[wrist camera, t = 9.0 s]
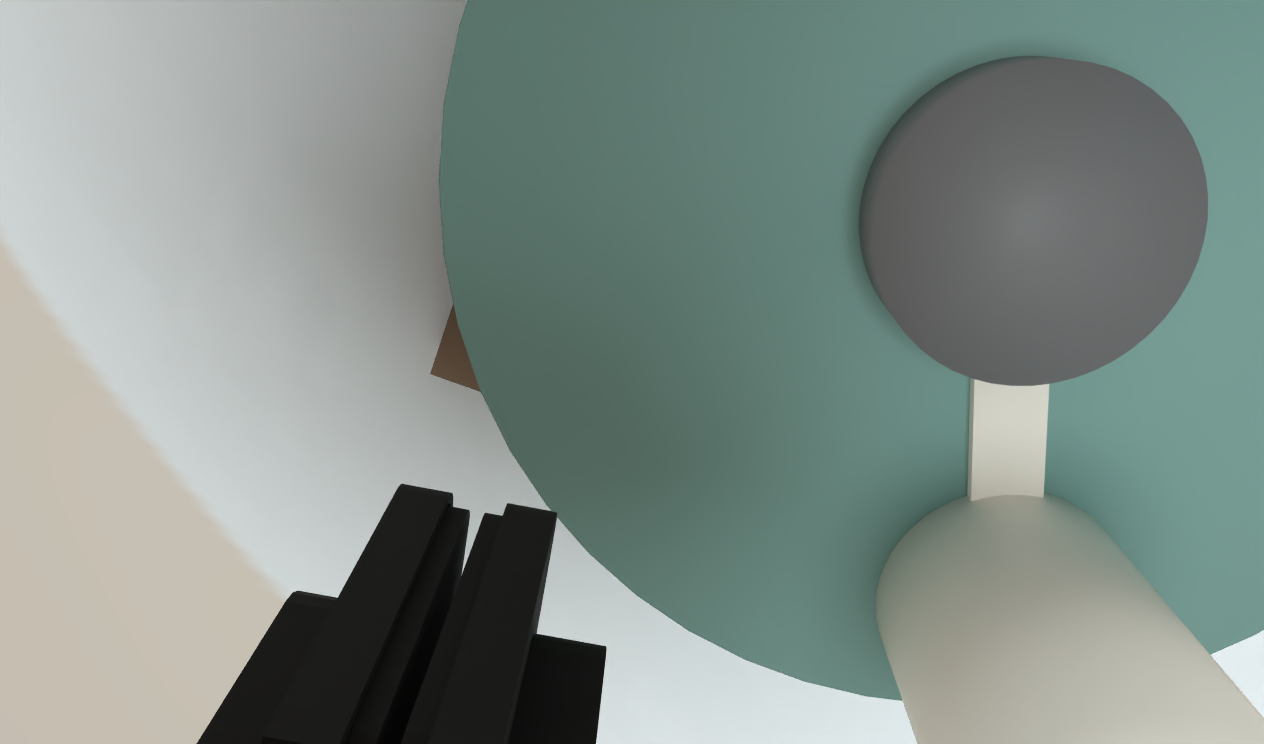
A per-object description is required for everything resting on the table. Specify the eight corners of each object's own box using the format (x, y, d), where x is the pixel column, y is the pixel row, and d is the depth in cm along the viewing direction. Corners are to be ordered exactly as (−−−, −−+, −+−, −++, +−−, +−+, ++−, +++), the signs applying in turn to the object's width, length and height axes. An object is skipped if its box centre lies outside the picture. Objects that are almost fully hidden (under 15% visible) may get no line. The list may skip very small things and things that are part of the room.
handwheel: (805, 792, 19) (875, 1173, 13) (245, 52, 15) (-43, 82, 9) (1683, 334, 16) (2335, 542, 10) (1255, -734, 12) (1873, -1505, 6)
